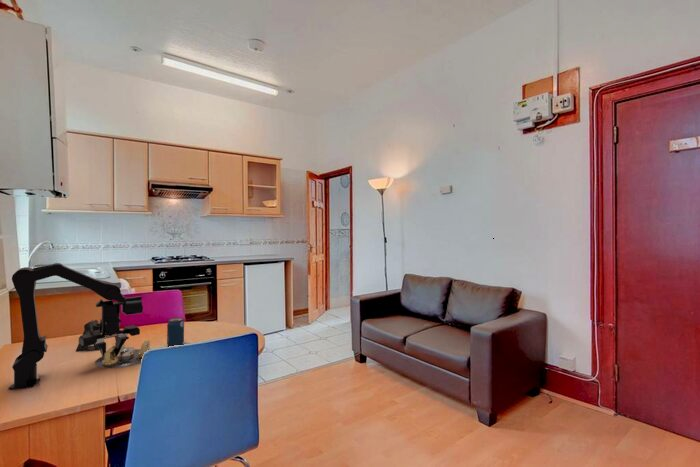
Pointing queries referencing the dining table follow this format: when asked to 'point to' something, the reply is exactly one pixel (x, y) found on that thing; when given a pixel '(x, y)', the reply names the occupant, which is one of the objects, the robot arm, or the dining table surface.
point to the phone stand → (86, 331)
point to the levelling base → (122, 363)
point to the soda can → (175, 332)
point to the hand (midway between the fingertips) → (110, 357)
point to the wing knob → (110, 358)
